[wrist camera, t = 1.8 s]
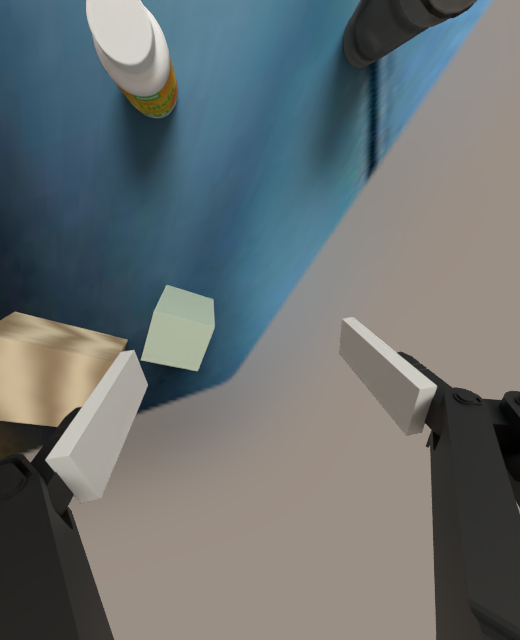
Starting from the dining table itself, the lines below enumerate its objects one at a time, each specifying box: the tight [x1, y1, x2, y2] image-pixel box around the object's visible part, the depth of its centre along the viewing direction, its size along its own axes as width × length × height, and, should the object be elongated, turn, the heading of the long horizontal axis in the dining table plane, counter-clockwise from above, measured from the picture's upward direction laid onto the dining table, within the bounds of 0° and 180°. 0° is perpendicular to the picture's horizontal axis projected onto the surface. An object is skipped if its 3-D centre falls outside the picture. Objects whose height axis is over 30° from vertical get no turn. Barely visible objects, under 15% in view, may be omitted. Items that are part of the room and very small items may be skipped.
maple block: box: [0, 312, 128, 427], centre depth 34 cm, size 14×14×6 cm
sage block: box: [141, 285, 215, 371], centre depth 32 cm, size 7×7×9 cm
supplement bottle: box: [86, 0, 178, 118], centre depth 20 cm, size 5×5×10 cm
